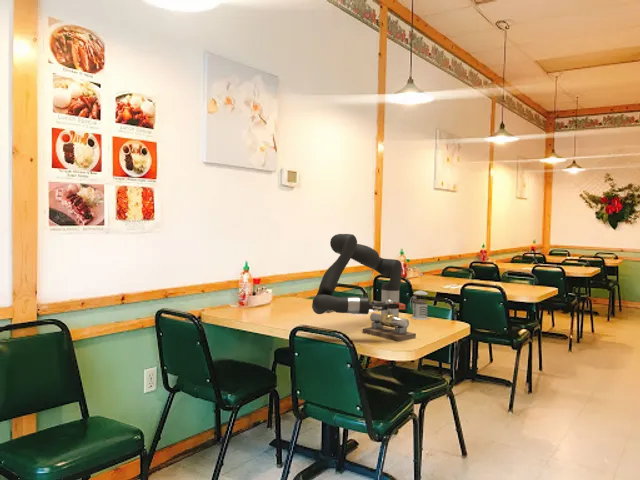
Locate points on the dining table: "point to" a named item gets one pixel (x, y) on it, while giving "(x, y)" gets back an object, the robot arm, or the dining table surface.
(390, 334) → the base board
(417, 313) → the french press
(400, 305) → the valve lever
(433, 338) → the dining table surface
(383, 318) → the pipe valve
